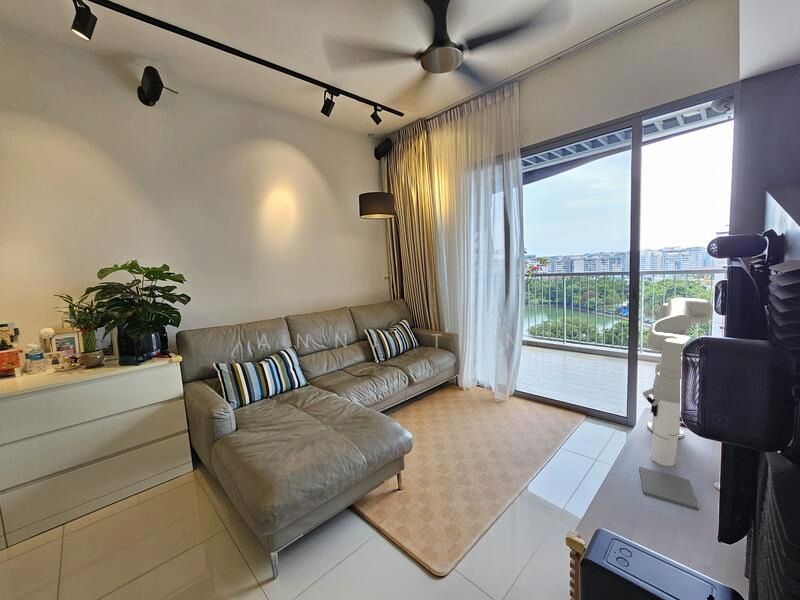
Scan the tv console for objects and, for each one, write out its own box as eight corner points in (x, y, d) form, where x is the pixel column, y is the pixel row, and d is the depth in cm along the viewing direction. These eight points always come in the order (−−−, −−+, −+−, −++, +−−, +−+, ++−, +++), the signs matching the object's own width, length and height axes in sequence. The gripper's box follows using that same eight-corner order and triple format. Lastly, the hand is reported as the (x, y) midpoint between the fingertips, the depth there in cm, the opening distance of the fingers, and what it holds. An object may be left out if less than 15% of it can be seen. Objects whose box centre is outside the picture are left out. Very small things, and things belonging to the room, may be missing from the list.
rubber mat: (639, 468, 121) (639, 466, 121) (688, 481, 114) (688, 479, 114) (643, 493, 109) (643, 491, 109) (698, 509, 102) (699, 507, 102)
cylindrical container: (678, 467, 121) (687, 404, 117) (657, 465, 123) (664, 403, 118) (667, 455, 128) (674, 395, 124) (646, 453, 130) (653, 394, 125)
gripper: (701, 373, 118) (695, 418, 121) (642, 365, 127) (637, 407, 130) (707, 380, 112) (700, 428, 115) (644, 371, 121) (639, 416, 124)
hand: (667, 417), depth 122 cm, fingers closed on cylindrical container, 7 cm apart
